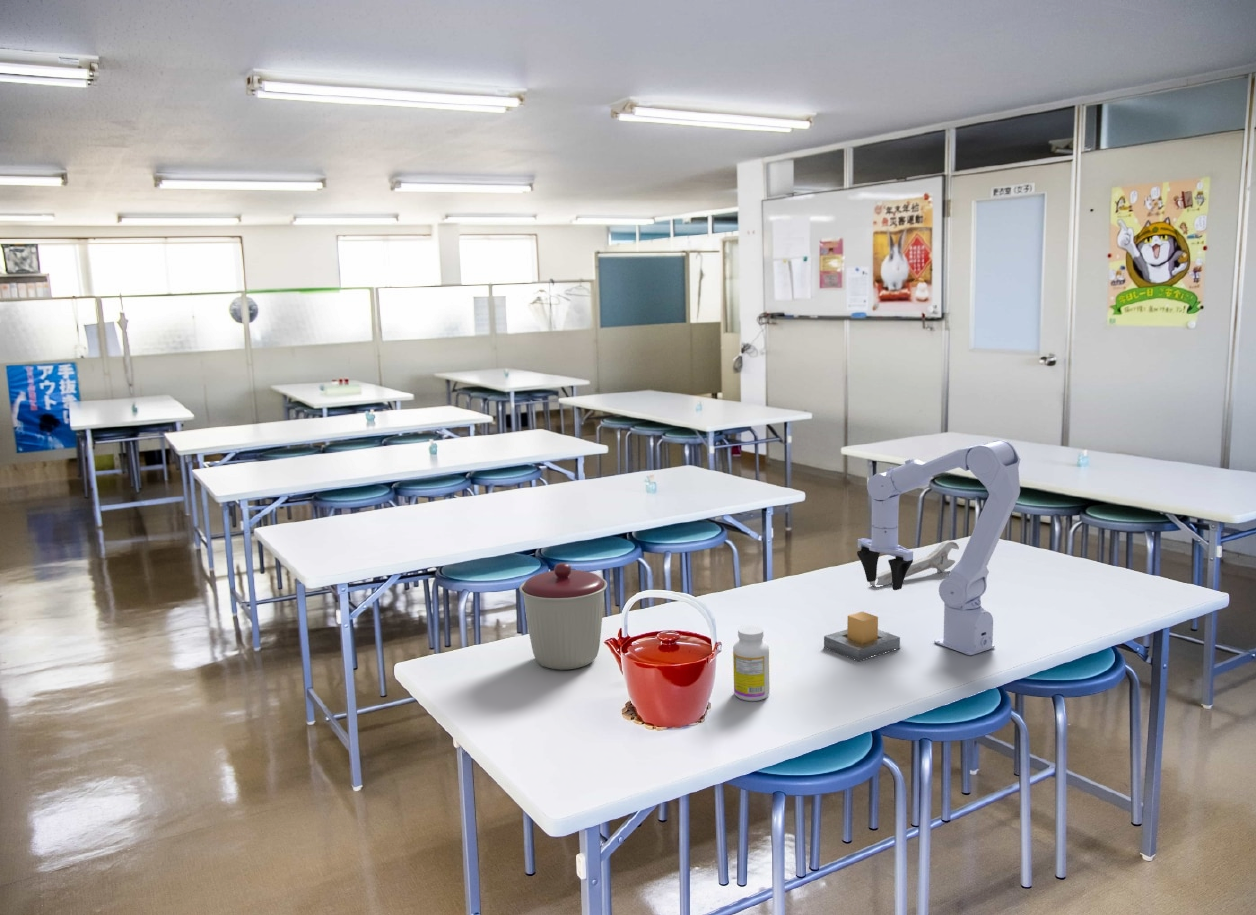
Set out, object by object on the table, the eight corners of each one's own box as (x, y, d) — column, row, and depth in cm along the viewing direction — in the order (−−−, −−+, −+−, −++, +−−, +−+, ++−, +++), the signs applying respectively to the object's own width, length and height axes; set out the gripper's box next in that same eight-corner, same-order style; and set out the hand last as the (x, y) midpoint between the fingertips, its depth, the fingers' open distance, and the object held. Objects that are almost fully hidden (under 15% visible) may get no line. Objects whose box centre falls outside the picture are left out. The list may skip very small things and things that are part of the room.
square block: (877, 648, 201) (878, 616, 200) (862, 653, 199) (863, 621, 198) (861, 642, 205) (862, 611, 204) (847, 647, 202) (847, 615, 201)
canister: (593, 640, 211) (589, 547, 207) (622, 668, 194) (619, 568, 191) (513, 653, 205) (508, 558, 201) (536, 684, 188) (531, 580, 184)
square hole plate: (899, 648, 200) (899, 637, 200) (858, 661, 194) (858, 649, 194) (864, 635, 209) (864, 624, 208) (824, 647, 203) (824, 636, 202)
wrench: (870, 597, 244) (955, 566, 257) (875, 599, 242) (960, 567, 255) (868, 567, 242) (953, 537, 255) (873, 569, 241) (958, 539, 254)
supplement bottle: (746, 685, 184) (745, 621, 182) (775, 693, 180) (775, 628, 178) (726, 696, 179) (725, 631, 177) (757, 705, 175) (756, 638, 173)
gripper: (848, 522, 215) (847, 580, 217) (897, 534, 203) (896, 596, 205) (870, 517, 219) (869, 575, 221) (920, 529, 206) (919, 590, 209)
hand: (884, 585), depth 213 cm, fingers open, 7 cm apart
